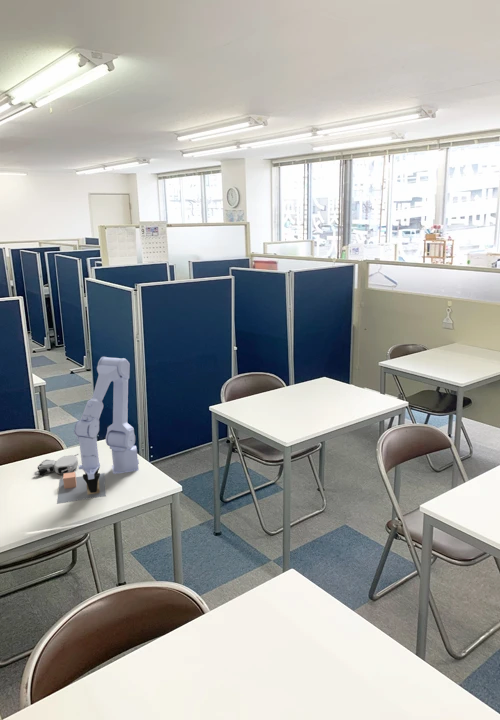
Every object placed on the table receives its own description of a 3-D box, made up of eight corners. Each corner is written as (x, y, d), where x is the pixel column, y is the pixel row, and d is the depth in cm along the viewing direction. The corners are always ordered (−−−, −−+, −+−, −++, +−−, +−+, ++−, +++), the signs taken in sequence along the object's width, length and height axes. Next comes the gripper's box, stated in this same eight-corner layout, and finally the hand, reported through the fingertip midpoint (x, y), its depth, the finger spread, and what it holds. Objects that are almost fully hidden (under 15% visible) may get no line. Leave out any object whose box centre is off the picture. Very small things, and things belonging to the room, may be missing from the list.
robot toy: (34, 482, 204) (75, 476, 204) (31, 471, 202) (72, 465, 203) (43, 467, 215) (82, 462, 216) (41, 456, 214) (79, 451, 215)
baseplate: (104, 474, 206) (104, 472, 206) (105, 497, 189) (105, 495, 189) (59, 481, 202) (59, 479, 202) (57, 505, 185) (56, 503, 185)
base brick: (76, 481, 199) (75, 471, 198) (76, 487, 196) (74, 476, 195) (64, 483, 198) (63, 473, 197) (64, 488, 195) (63, 478, 194)
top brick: (99, 487, 195) (98, 477, 194) (99, 492, 191) (98, 482, 190) (87, 489, 194) (86, 478, 193) (87, 494, 190) (86, 484, 189)
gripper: (77, 446, 194) (81, 481, 198) (76, 463, 181) (81, 500, 184) (98, 443, 196) (102, 478, 200) (98, 460, 183) (102, 497, 186)
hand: (93, 488), depth 192 cm, fingers closed on top brick, 4 cm apart
